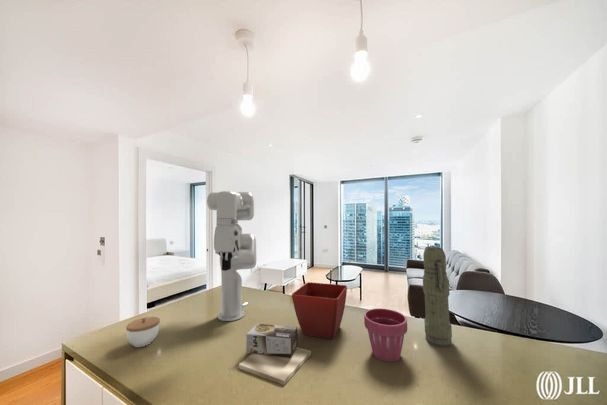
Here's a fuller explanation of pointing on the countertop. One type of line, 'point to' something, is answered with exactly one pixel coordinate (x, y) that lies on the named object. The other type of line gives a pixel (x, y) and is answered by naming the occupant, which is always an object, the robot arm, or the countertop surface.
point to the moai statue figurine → (436, 298)
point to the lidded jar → (142, 331)
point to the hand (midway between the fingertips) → (226, 269)
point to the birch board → (275, 365)
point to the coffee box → (272, 340)
